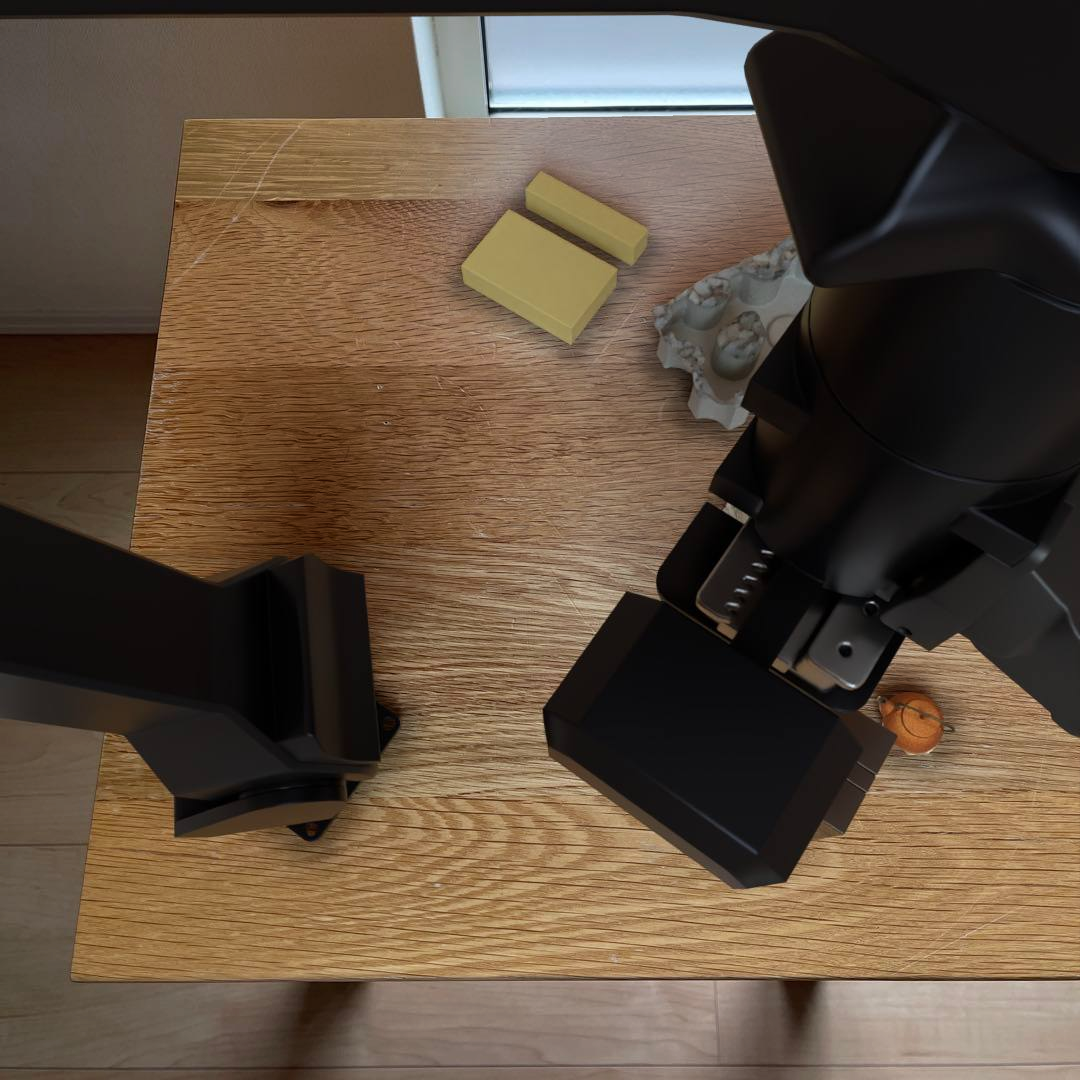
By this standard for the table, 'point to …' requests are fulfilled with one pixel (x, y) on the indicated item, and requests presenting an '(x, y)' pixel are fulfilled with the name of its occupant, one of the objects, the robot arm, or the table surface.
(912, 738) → the teapot
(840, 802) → the brown slotted box
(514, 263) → the butter block
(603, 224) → the butter pat
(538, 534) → the table surface
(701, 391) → the egg carton
